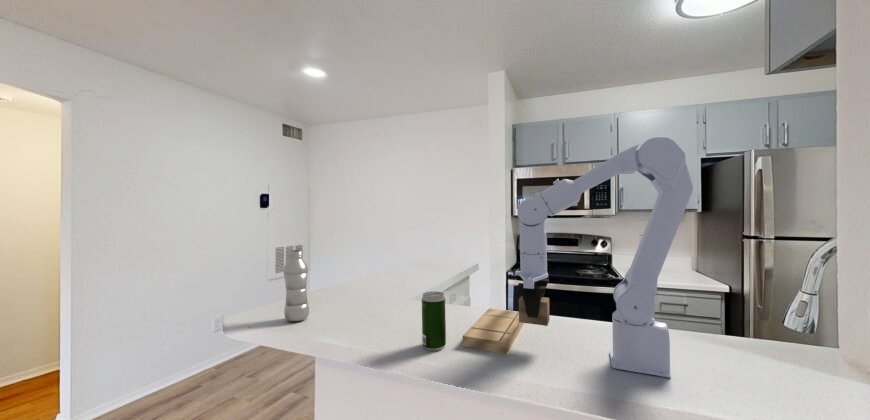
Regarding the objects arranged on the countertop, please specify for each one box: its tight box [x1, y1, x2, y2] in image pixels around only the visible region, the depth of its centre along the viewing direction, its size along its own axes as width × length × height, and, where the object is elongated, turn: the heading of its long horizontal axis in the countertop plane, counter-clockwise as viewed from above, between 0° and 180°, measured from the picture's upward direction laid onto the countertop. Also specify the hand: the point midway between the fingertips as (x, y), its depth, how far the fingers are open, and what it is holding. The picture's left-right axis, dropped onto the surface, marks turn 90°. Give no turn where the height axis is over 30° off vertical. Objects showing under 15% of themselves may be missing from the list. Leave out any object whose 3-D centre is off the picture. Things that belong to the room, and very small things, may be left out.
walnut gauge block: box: [518, 295, 551, 327], centre depth 74 cm, size 6×4×5 cm, turn 65°
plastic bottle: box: [282, 249, 310, 322], centre depth 95 cm, size 6×7×20 cm
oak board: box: [462, 308, 525, 355], centre depth 83 cm, size 10×22×3 cm, turn 155°
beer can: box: [421, 291, 447, 352], centre depth 75 cm, size 5×5×12 cm
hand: (534, 313), depth 74 cm, fingers closed on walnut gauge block, 4 cm apart
